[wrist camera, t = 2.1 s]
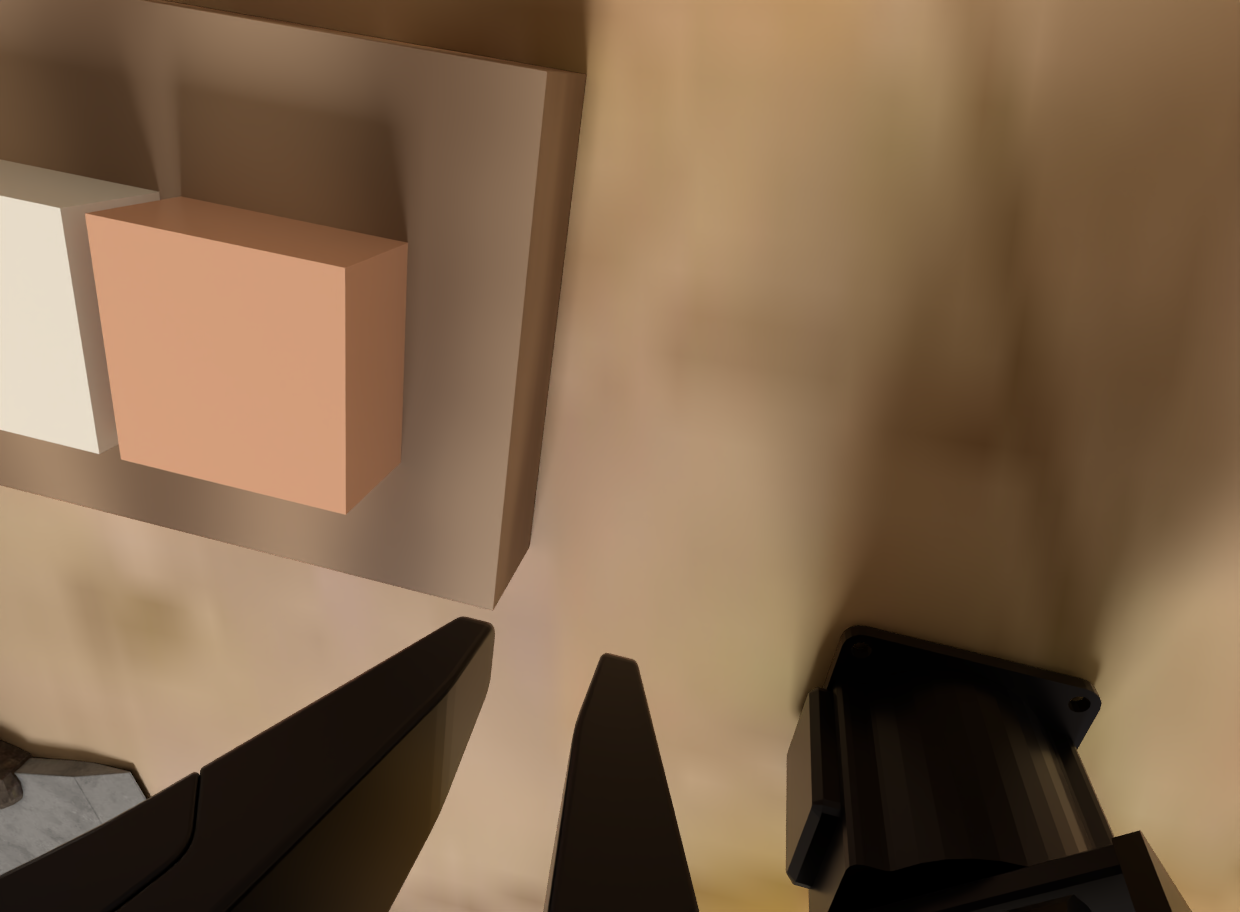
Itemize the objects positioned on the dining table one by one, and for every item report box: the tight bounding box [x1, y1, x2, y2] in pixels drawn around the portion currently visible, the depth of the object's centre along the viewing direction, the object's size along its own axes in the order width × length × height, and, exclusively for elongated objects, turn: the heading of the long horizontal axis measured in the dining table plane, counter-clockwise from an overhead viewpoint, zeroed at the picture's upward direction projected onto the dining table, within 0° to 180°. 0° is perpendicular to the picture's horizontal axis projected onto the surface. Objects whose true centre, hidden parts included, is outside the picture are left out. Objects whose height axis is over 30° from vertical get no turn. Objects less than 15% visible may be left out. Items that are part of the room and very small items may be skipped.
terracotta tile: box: [85, 196, 408, 515], centre depth 16 cm, size 5×5×2 cm
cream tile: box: [0, 159, 160, 454], centre depth 17 cm, size 5×5×2 cm
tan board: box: [0, 0, 586, 611], centre depth 19 cm, size 17×12×3 cm
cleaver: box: [0, 740, 146, 875], centre depth 31 cm, size 29×10×2 cm, turn 5°
